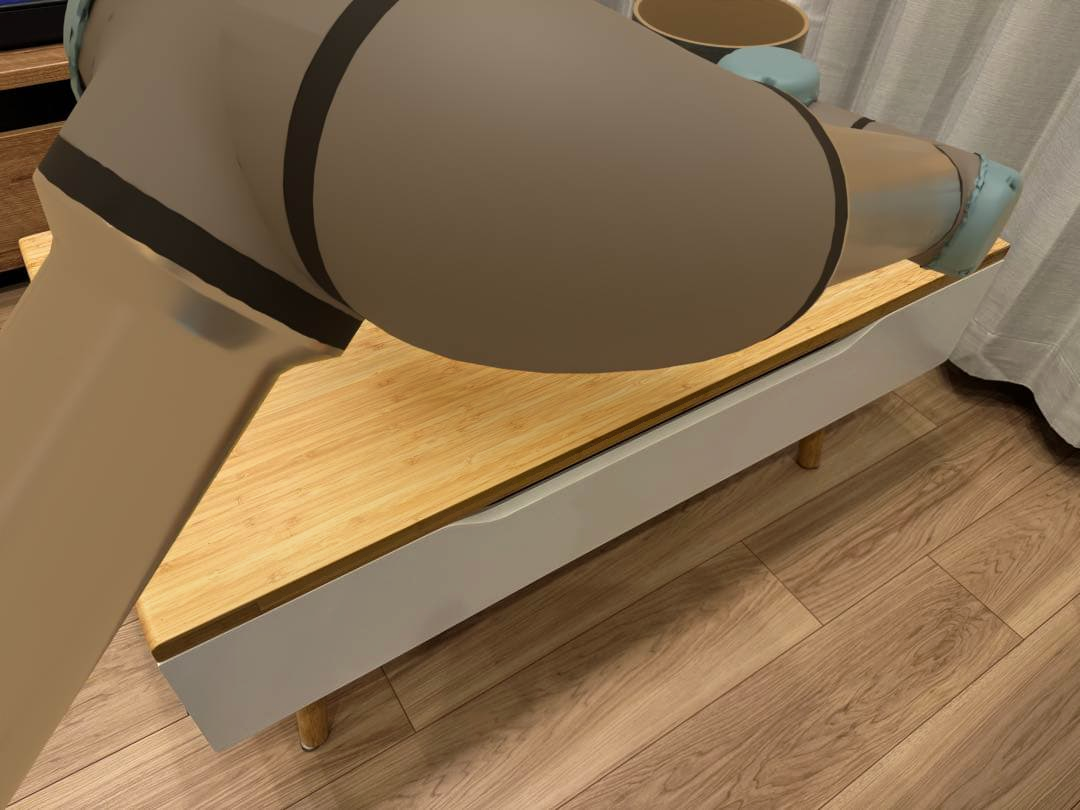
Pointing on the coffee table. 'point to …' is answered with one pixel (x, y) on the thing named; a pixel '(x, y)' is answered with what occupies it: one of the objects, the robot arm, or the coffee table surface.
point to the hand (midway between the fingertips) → (347, 216)
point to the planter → (724, 24)
